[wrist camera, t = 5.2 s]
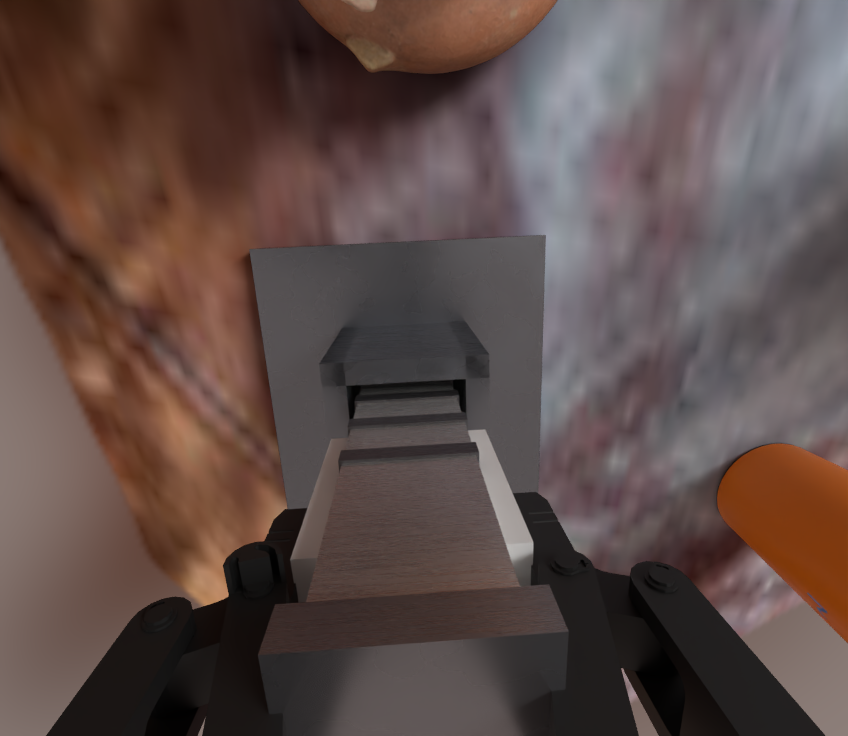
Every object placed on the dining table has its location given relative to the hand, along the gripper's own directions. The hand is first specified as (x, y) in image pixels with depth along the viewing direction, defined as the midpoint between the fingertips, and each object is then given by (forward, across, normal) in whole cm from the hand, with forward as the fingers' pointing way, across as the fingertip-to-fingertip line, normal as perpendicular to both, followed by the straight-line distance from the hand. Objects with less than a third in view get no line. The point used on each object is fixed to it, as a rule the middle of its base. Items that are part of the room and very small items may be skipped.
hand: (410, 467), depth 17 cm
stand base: (+11, 0, 0) cm, 11 cm away
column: (+10, 0, 0) cm, 10 cm away
